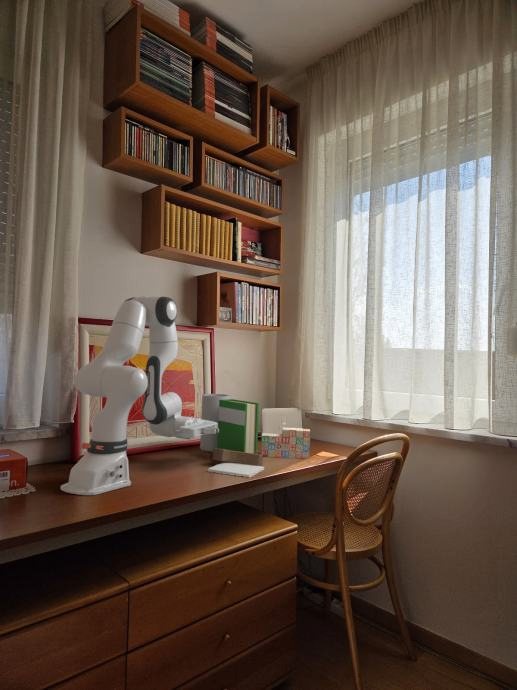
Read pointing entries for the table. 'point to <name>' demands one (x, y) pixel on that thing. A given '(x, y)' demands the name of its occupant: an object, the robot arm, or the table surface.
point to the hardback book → (238, 425)
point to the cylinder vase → (210, 419)
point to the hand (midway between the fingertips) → (217, 431)
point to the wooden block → (237, 457)
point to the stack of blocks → (287, 443)
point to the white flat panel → (236, 469)
